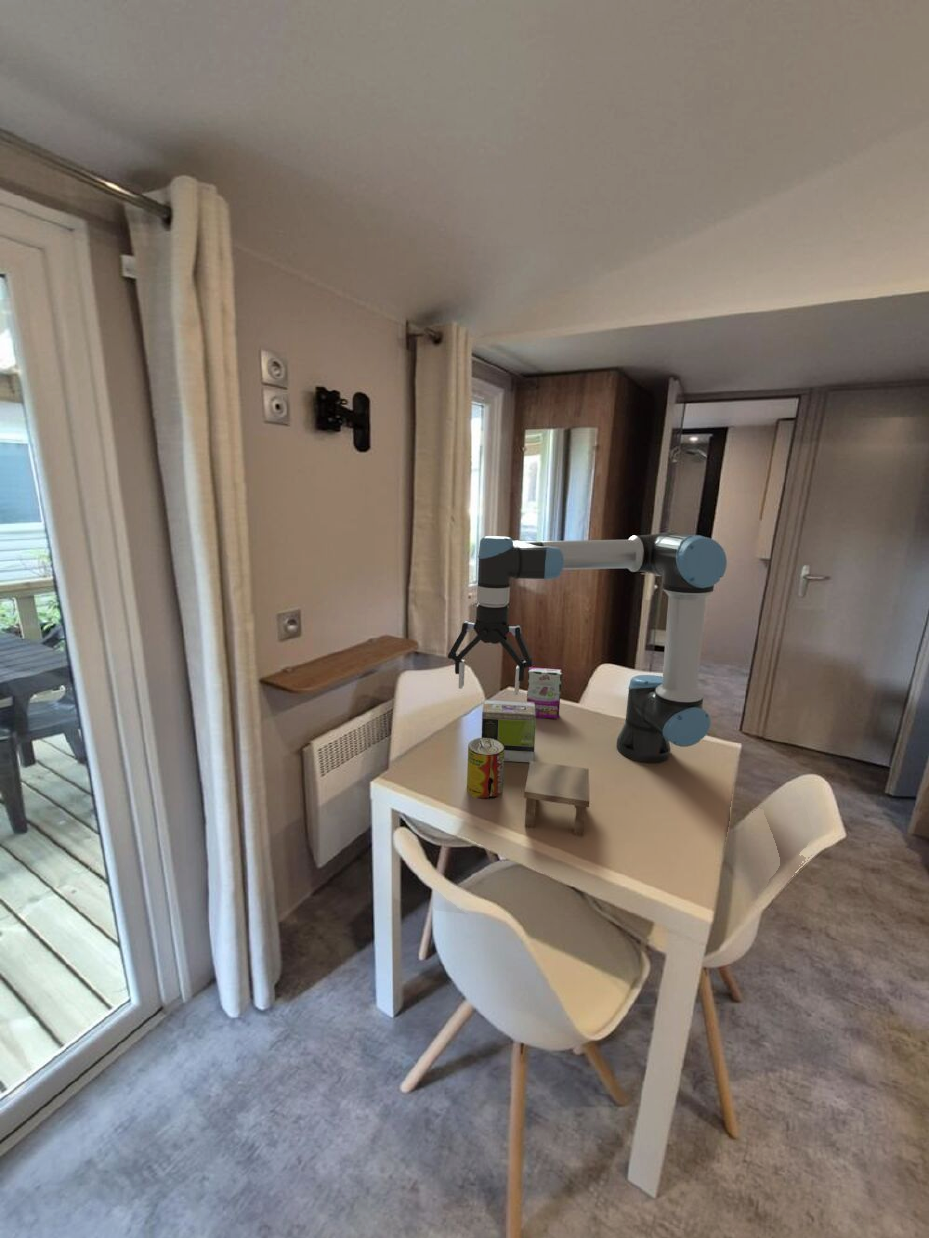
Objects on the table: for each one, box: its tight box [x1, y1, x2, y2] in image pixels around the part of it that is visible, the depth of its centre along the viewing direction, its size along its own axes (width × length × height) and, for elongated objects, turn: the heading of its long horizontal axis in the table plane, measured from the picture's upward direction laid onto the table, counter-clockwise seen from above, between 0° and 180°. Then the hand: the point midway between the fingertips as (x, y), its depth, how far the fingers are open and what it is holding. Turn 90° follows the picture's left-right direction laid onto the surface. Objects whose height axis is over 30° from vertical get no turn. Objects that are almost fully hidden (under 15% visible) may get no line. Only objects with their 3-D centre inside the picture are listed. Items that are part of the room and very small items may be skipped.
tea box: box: [481, 699, 537, 764], centre depth 146 cm, size 15×10×15 cm, turn 84°
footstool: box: [523, 761, 590, 837], centre depth 119 cm, size 14×14×9 cm
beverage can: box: [466, 737, 505, 800], centre depth 128 cm, size 9×9×12 cm
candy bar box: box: [526, 666, 563, 720], centre depth 172 cm, size 11×5×16 cm, turn 80°
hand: (488, 689), depth 123 cm, fingers open, 13 cm apart
